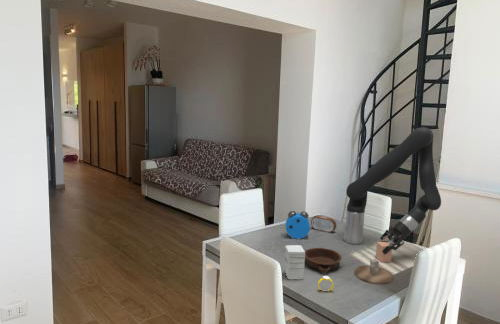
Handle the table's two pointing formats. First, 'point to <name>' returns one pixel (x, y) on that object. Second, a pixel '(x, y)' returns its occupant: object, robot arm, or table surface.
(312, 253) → the dish
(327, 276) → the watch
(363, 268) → the post stand
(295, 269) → the supplement box
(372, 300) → the table surface
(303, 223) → the alarm clock
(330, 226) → the copper desk clock
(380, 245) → the salmon pink block
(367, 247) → the table surface
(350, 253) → the table surface
